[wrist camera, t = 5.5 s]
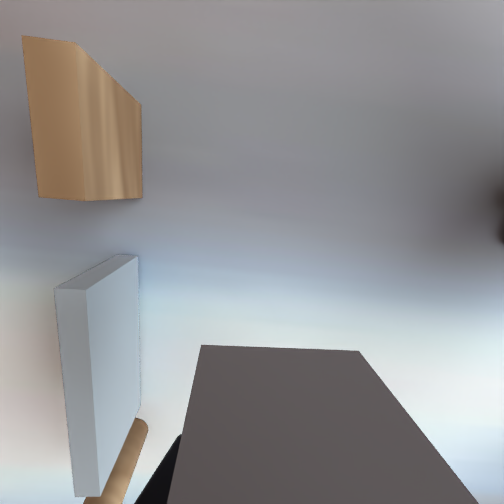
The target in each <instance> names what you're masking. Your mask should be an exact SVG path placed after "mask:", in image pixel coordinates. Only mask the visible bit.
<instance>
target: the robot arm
mask: <svg viewBox="0 0 504 504" xmlns="http://www.w3.org/2000/svg"><path fill="white" fill-rule="evenodd" d="M181 436H182V434H180V435H179V436H178V437H177V438H176V440H175V441H174V443H173V444H172V446H171V448H170V449H169V451H168V452H167V454H166V455H165V457H164V458H163V460H162V461H161V463H160V465H159V466H158V468H157V469H156V471H155V472H154V474H153V475H152V477H151V478H150V480H149V482H148V483H147V485H146V486H145V488H144V489H143V491H142V492H141V494H140V495H139V497H138V499H137V500H136V502H135V503H134V504H167V501H168V496H169V492H170V487H171V482H172V478H173V473H174V468H175V464H176V459H177V455H178V450H179V445H180V441H181Z"/></svg>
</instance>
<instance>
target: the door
mask: <svg viewBox="0 0 504 504" xmlns="http://www.w3.org/2000/svg"><path fill="white" fill-rule="evenodd" d="M54 296H55V306H56V315H57V325H58V335H59V345H60V355H61V365H62V375H63V385H64V395H65V405H66V415H67V425H68V435H69V444H70V454H71V464H72V474H73V484H74V494H75V497H100V496H101V494H102V491H103V489H104V487H105V485H106V482H107V480H108V478H109V476H110V473H111V471H112V469H113V466H114V464H115V462H116V460H117V457H118V455H119V453H120V451H121V448H122V446H123V444H124V442H125V439H126V437H127V435H128V433H129V430H130V428H131V426H132V423H133V421H134V419H135V417H136V414H137V412H138V410H139V408H140V405H141V392H140V336H139V281H138V256H133V255H116V256H114V257H112V258H110V259H108V260H106V261H105V262H103V263H101V264H99V265H97V266H95V267H93V268H91V269H89V270H88V271H86V272H84V273H82V274H80V275H78V276H76V277H74V278H72V279H71V280H69V281H67V282H65V283H63V284H61V285H59V286H57V287H55V288H54Z"/></svg>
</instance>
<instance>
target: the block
mask: <svg viewBox="0 0 504 504" xmlns="http://www.w3.org/2000/svg"><path fill="white" fill-rule="evenodd" d="M167 504H479V503H478V502H477V501H476V499H475V498H474V497H473V496H472V494H471V493H470V492H469V491H468V489H467V488H466V487H465V486H464V484H463V483H462V482H461V480H460V479H459V478H458V477H457V475H456V474H455V473H454V472H453V470H452V469H451V468H450V466H449V465H448V464H447V463H446V461H445V460H444V459H443V458H442V456H441V455H440V454H439V452H438V451H437V450H436V449H435V447H434V446H433V445H432V444H431V442H430V441H429V440H428V438H427V437H426V436H425V435H424V433H423V432H422V431H421V430H420V428H419V427H418V426H417V424H416V423H415V422H414V421H413V419H412V418H411V417H410V416H409V414H408V413H407V412H406V410H405V409H404V408H403V407H402V405H401V404H400V403H399V402H398V400H397V399H396V398H395V397H394V395H393V394H392V393H391V391H390V390H389V389H388V388H387V386H386V385H385V384H384V383H383V381H382V380H381V379H380V377H379V376H378V375H377V374H376V372H375V371H374V370H373V369H372V367H371V366H370V365H369V363H368V362H367V361H366V360H365V358H364V357H363V356H362V355H361V353H360V352H359V351H349V350H322V349H296V348H270V347H244V346H218V345H201V348H200V353H199V358H198V362H197V367H196V371H195V376H194V381H193V385H192V390H191V395H190V399H189V404H188V408H187V413H186V418H185V422H184V427H183V432H182V436H181V441H180V445H179V450H178V455H177V459H176V464H175V468H174V473H173V478H172V482H171V487H170V492H169V496H168V501H167Z"/></svg>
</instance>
